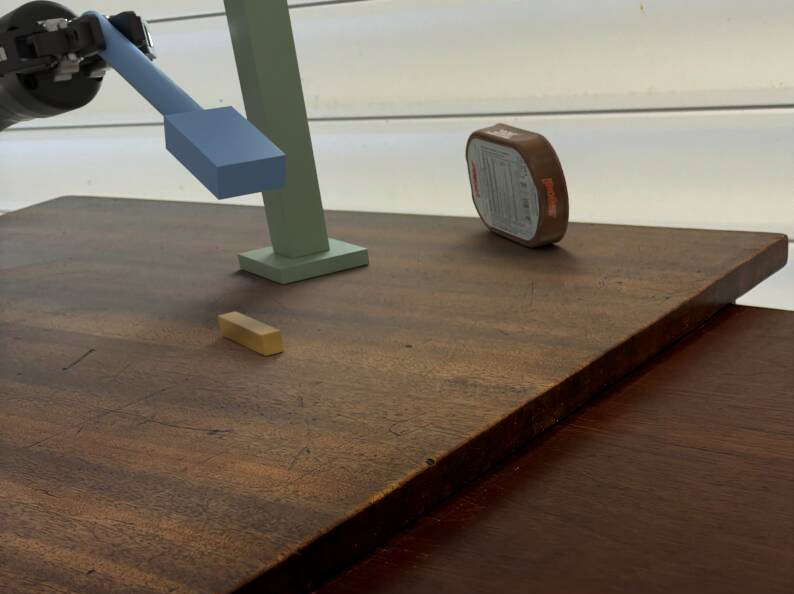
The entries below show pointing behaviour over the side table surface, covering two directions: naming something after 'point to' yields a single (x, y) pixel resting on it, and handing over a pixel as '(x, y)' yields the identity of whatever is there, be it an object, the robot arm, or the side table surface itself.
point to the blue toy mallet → (199, 127)
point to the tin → (518, 184)
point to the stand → (283, 147)
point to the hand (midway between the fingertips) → (115, 29)
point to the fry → (251, 333)
